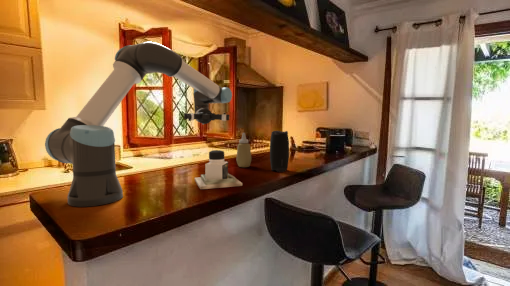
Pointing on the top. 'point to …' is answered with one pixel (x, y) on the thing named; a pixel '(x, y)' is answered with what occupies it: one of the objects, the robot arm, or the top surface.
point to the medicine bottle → (216, 166)
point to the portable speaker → (279, 151)
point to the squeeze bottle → (243, 152)
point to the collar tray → (217, 182)
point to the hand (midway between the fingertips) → (209, 117)
